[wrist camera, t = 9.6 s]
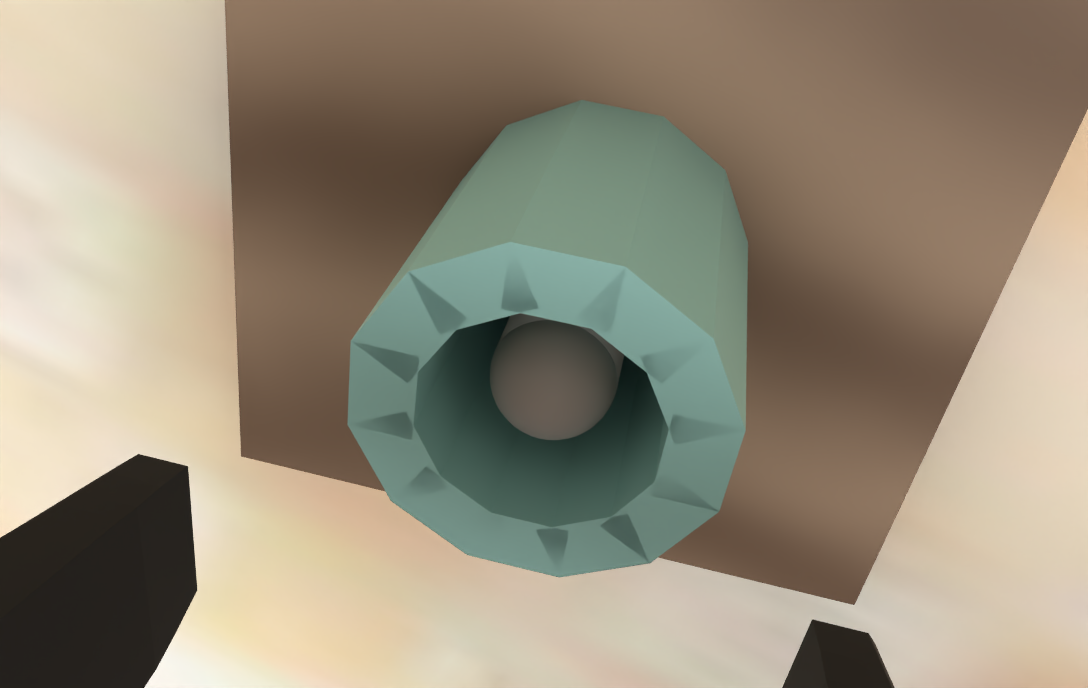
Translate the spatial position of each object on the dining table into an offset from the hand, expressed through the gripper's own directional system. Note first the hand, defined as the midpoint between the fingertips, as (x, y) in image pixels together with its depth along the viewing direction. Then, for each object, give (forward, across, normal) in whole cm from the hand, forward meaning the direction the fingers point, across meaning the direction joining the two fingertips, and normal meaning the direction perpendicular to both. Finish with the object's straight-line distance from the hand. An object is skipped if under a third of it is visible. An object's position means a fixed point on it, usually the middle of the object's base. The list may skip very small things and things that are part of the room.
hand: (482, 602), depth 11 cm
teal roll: (+9, 0, 0) cm, 9 cm away
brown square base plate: (+10, 0, 0) cm, 10 cm away
